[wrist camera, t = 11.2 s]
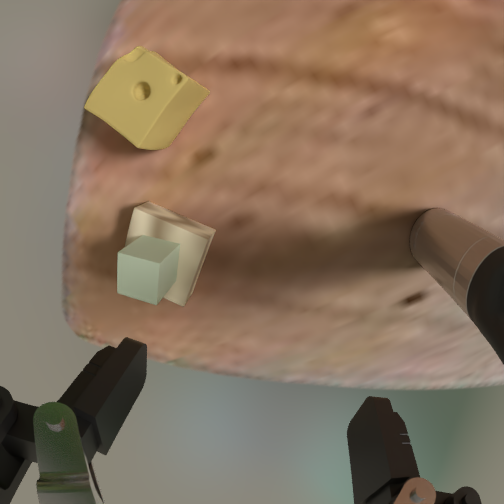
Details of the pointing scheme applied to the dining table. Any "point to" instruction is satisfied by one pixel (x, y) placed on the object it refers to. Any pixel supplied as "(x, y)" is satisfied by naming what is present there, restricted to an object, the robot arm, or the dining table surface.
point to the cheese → (146, 99)
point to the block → (147, 268)
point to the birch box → (178, 231)
